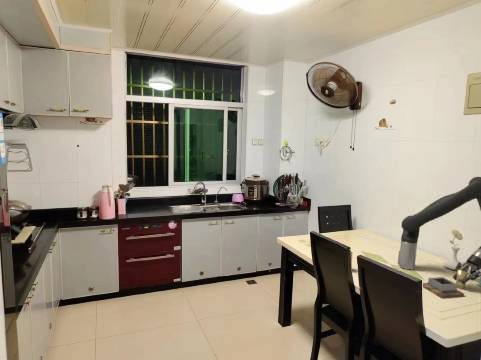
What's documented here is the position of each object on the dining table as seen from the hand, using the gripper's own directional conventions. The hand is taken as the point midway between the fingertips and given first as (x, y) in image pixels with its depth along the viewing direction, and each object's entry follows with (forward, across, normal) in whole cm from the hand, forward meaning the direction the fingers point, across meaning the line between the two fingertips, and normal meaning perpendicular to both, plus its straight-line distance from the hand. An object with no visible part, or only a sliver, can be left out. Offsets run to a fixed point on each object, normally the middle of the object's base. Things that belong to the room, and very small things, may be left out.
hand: (458, 280), depth 178 cm
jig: (+11, +2, -6) cm, 13 cm away
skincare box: (+39, -32, -32) cm, 60 cm away
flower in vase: (-12, -25, +18) cm, 33 cm away
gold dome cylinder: (+2, 0, +4) cm, 5 cm away
